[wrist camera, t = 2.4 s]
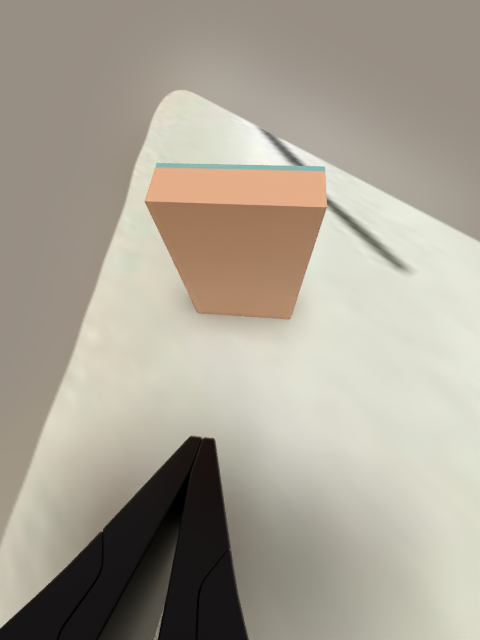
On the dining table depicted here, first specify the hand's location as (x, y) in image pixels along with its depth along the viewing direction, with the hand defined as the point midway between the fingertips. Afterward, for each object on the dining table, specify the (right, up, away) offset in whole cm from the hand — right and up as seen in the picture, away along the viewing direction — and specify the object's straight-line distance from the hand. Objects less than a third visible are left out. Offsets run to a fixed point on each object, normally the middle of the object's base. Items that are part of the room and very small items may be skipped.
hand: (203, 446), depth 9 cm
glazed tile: (+2, +6, +14) cm, 15 cm away
